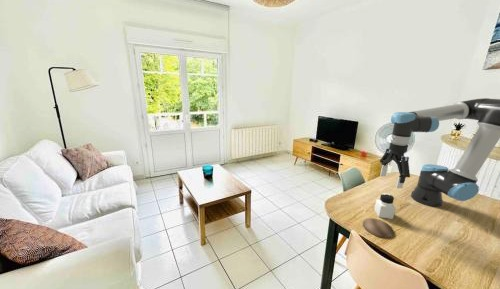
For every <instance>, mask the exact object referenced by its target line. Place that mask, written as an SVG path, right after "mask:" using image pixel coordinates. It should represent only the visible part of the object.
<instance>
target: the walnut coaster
mask: <svg viewBox="0 0 500 289" xmlns="http://www.w3.org/2000/svg"><path fill="white" fill-rule="evenodd" d="M362 226H363V229H364V230H366V231H367V232H368V233H369V234H371V235H374V236H375V237H379V238H385V239H387V238H391V237H392V236H393V235H394V229H393V227H392V226H391V225H390V224H389V223H387V222H385V221H383V220H381V219H377V218H371V217H370V218H366V219H364V221H363V223H362Z"/></svg>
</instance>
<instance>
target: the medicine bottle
mask: <svg viewBox="0 0 500 289" xmlns="http://www.w3.org/2000/svg"><path fill="white" fill-rule="evenodd" d="M394 198H395V197H394V196H393V195H391V194H389V193H381V194H380V198H379V199H378V198H377V199H376V200H375V205H374V212H375V213H376V215H377V216H378V217H379V218H382V219H383V218H384V219H390V220H393V219H394V216H395V213H396V212H395V211H396V210H397V209H396V208H397V207H396V206H395V205H394Z"/></svg>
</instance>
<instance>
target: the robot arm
mask: <svg viewBox="0 0 500 289" xmlns="http://www.w3.org/2000/svg"><path fill="white" fill-rule="evenodd" d="M454 119H456V120H472V121H473V120H474V121H477V126H478V128H477V130H476V132H475V133H474V135H473V136H472V138H471V140H470V141H469V143H468V145H467V147H466V148H465V150H464V152H463V153H462V155H461V157H460V158H459V160H458V161H457V163H456V164H455V166H454V168H450V169H449V168H448V167H447V166H444V165H439V164H431V163H429V164H424V165H422V167H421V169H420V173H419V177H418V181H417V185H416V186H415V187H414V189H413V190H412V191H411V193H410V198H412V199H413V200H414V201H416V202H417V203H420V204H422V205H426V206H430V207H440V206H442V205H443V201H444V200H443V194H444V195H446V196H448V197H449V198H452V199H453V200H456V201H459V202H464V201H465V202H466V201H469V200H471V199H473V198H474V197H475V196H477V195H478V193H479V191H480V187H479V185H478V184H477V182H478V178H477V175H478V173H479V171H480V170H481V169H482V167H483V165H484V163H485V162H486V161H487V159H488V158H489V156H490V154H491V153H492V151H493V149H494V148H495V147H496V145H497V143H499V141H500V98H487V97H486V98H475V99H467V100H463V101H458V102H455V103H453V104H451V105H444V106H439V107H431V108H427V109H426V108H425V109H419V110H414V111H413V110H412V111H409V112H407V111H397V112H394V113H393V114H392V115H391V117H390V122H391V123H392V124H393V128H392V134H391V138H390V143H389V146H388V148H386V149H385V152H384V154H383V155H382V157H381V158H380V160H379V162H380V164H381V168H380V169H381V170H380V174H379V176H380V177H386V176H387V171H388V168H389V164H390V163H391V162H392V161H393V162H395V164H396V165H397V169H398V173H399V175H398V177H397V181H396V186H395V188H396V189H403V186H404V183H405V181H406V178H411V173H410V165H409V161H410V157H409V156H405V153H407V152H408V148H409V144H410V142H411V141H410V140H411V136H412V133H433V132H435V131H437V130H438V129H439V126H440V122H441V121H447V120H454ZM442 193H443V194H442Z"/></svg>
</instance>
